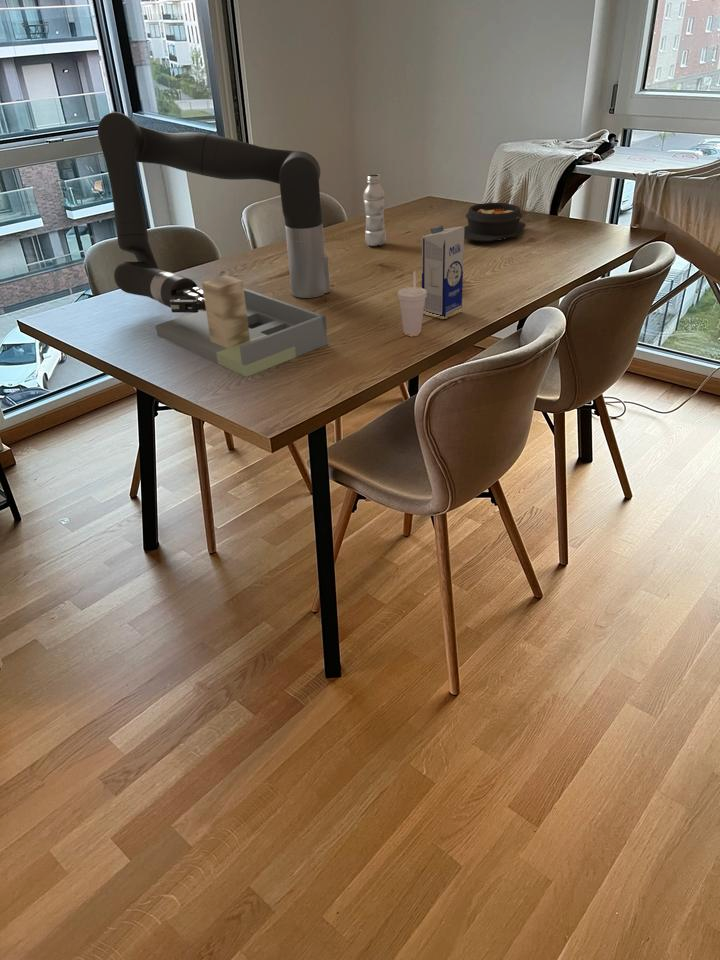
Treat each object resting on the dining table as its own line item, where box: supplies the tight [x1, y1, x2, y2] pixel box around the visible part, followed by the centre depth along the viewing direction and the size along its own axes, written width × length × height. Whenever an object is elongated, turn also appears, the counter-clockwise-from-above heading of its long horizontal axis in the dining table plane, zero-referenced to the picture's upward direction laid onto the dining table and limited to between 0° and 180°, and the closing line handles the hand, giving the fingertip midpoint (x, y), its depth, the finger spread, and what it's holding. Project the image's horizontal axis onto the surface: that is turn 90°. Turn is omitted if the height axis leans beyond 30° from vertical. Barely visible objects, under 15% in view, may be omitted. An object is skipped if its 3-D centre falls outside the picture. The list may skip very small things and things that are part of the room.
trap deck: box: [154, 287, 328, 378], centre depth 168 cm, size 22×34×6 cm, turn 44°
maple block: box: [201, 274, 250, 349], centre depth 159 cm, size 6×6×13 cm
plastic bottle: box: [362, 173, 387, 247], centre depth 223 cm, size 6×7×20 cm
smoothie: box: [396, 270, 427, 335], centre depth 165 cm, size 6×6×14 cm
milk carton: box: [421, 225, 465, 317], centre depth 173 cm, size 7×7×20 cm
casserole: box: [464, 202, 527, 242], centre depth 230 cm, size 25×19×8 cm
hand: (218, 308), depth 161 cm, fingers closed
